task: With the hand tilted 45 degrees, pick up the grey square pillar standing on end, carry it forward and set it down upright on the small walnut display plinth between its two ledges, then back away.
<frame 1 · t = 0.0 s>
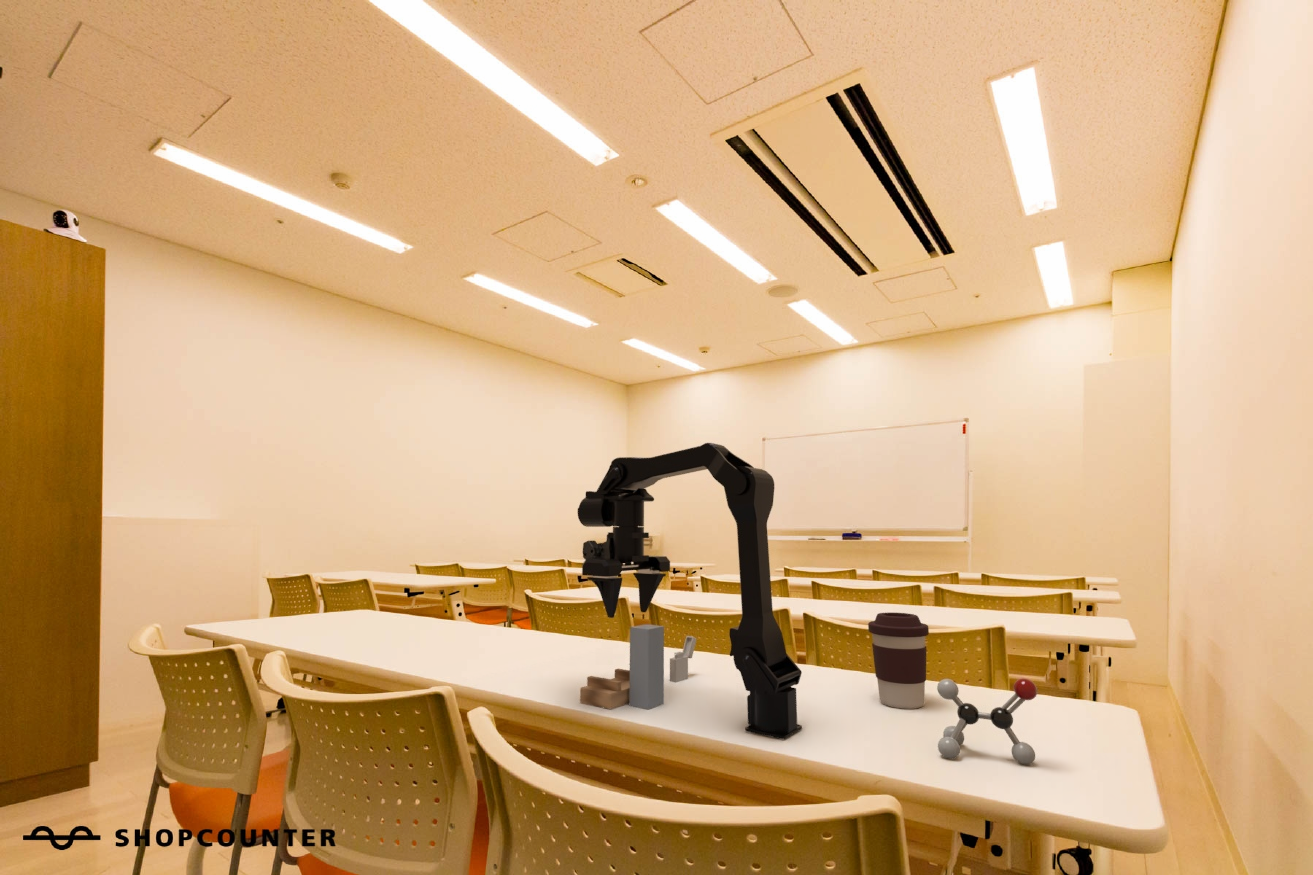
hand: (627, 614, 114), 15 cm above the table, tool pointing down, fingers open, 9 cm apart
grey square pillar: (646, 704, 109), on the table
coffee cup: (902, 704, 110), on the table
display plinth: (617, 698, 113), on the table
molecular model: (990, 759, 84), on the table
lighter: (683, 679, 128), on the table
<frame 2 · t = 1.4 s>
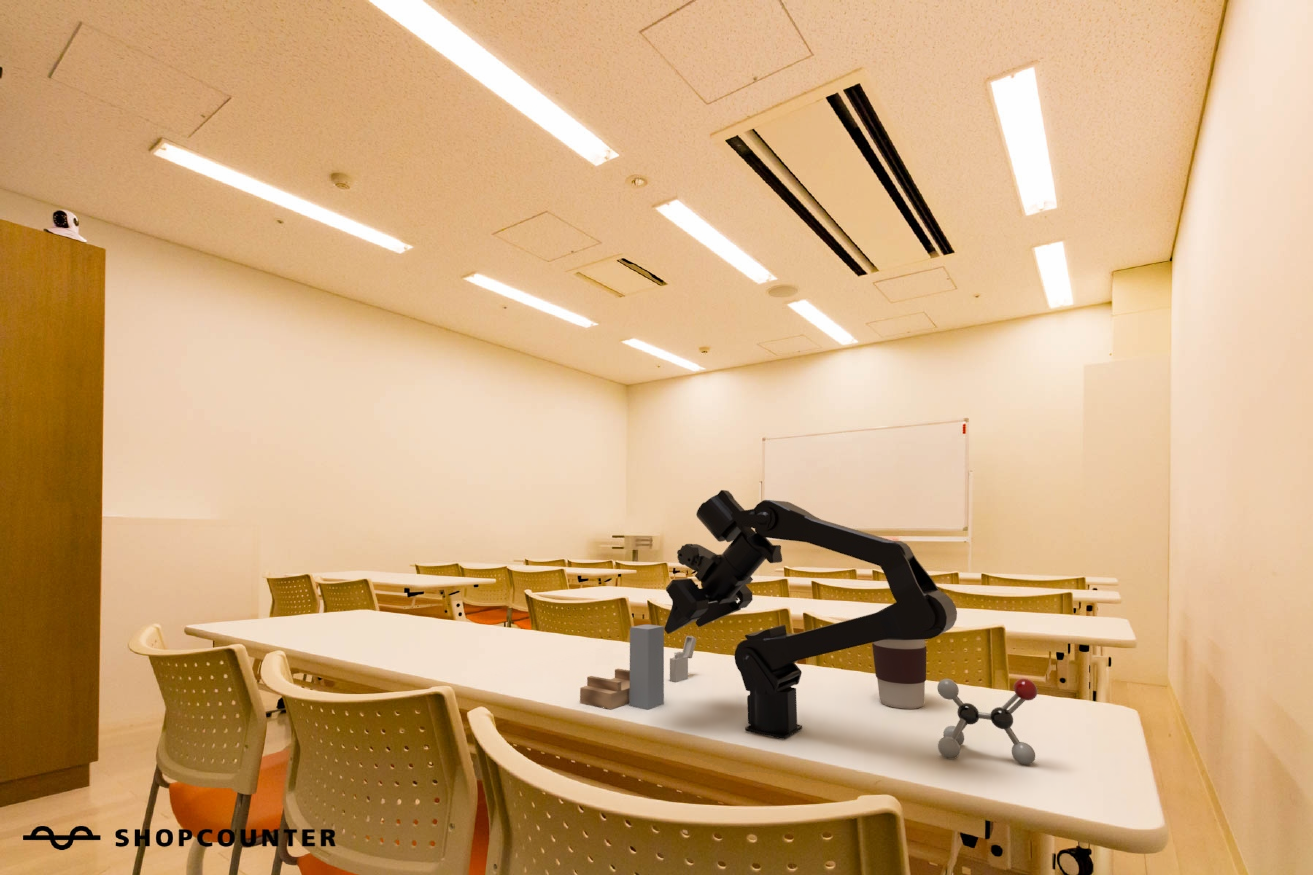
hand: (682, 628, 106), 13 cm above the table, tool tilted 45°, fingers open, 9 cm apart
nothing on the table moved.
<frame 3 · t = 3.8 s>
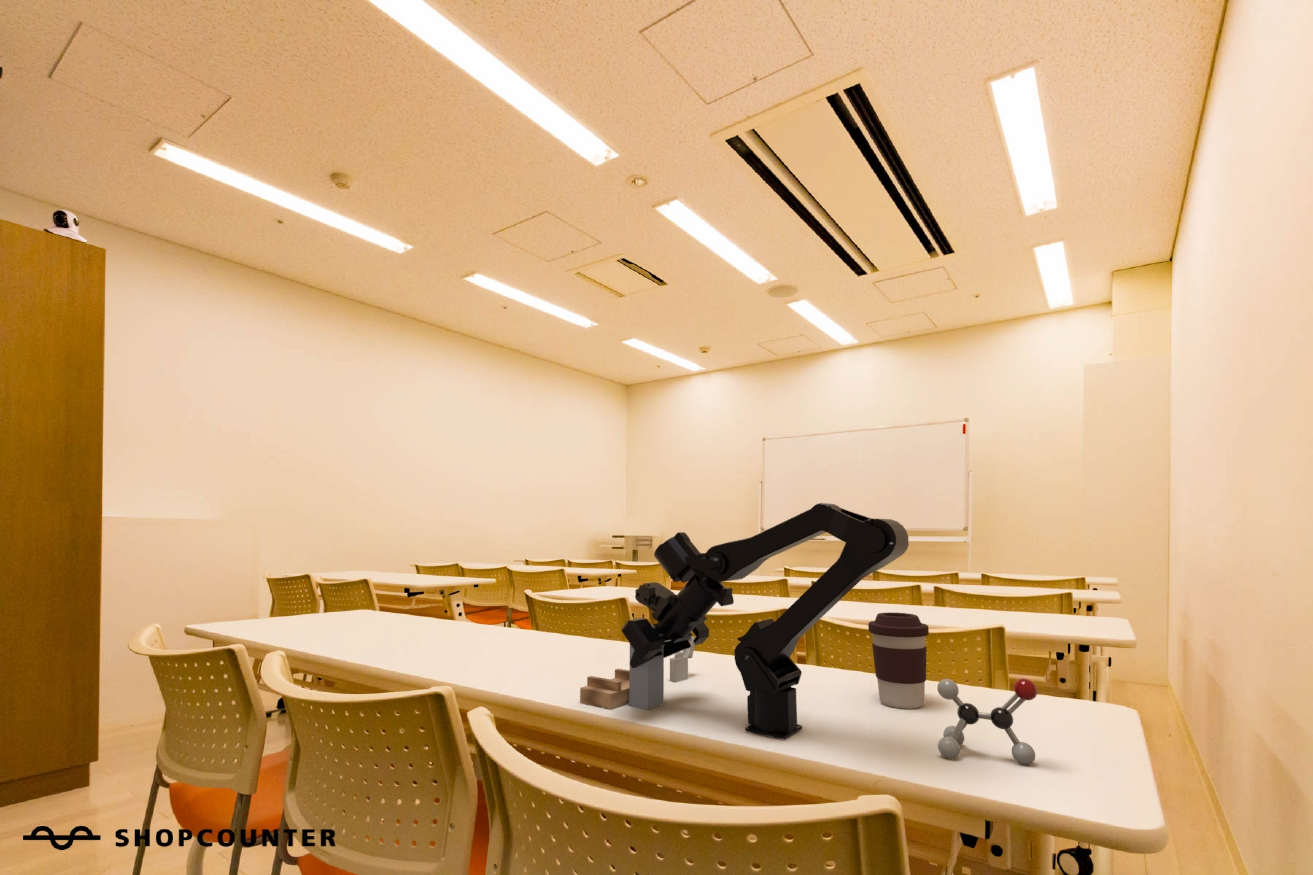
hand: (640, 663, 111), 7 cm above the table, tool tilted 45°, fingers closed on grey square pillar, 4 cm apart
grey square pillar: (646, 704, 109), on the table, touching gripper
everything else where it was.
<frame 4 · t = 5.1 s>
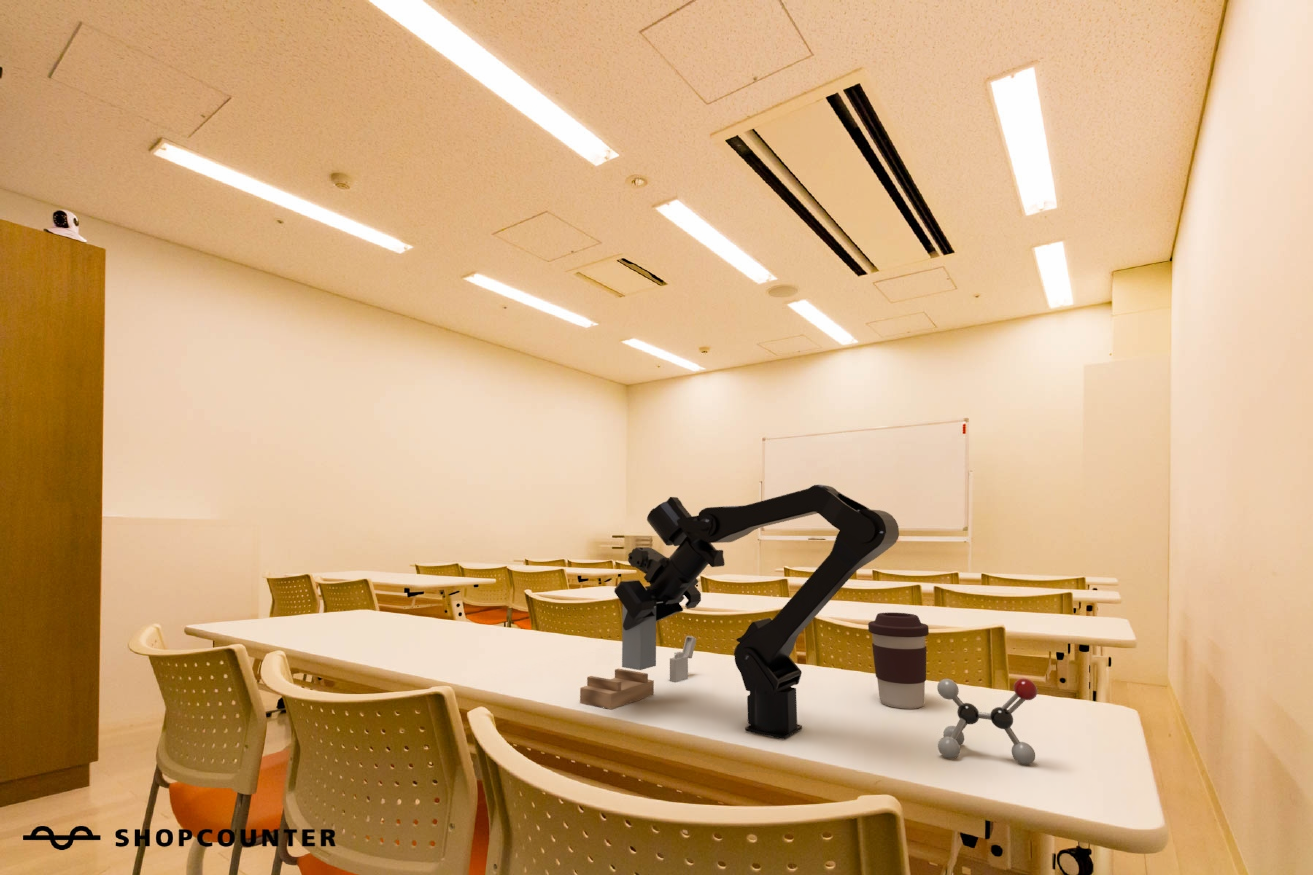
hand: (633, 626, 113), 13 cm above the table, tool tilted 45°, fingers closed on grey square pillar, 4 cm apart
grey square pillar: (639, 666, 111), point 6 cm above the table, touching gripper
everything else where it was.
when the fingers open (10 cm above the table, at t = 6.5 s): grey square pillar stays where it is, resting on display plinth.
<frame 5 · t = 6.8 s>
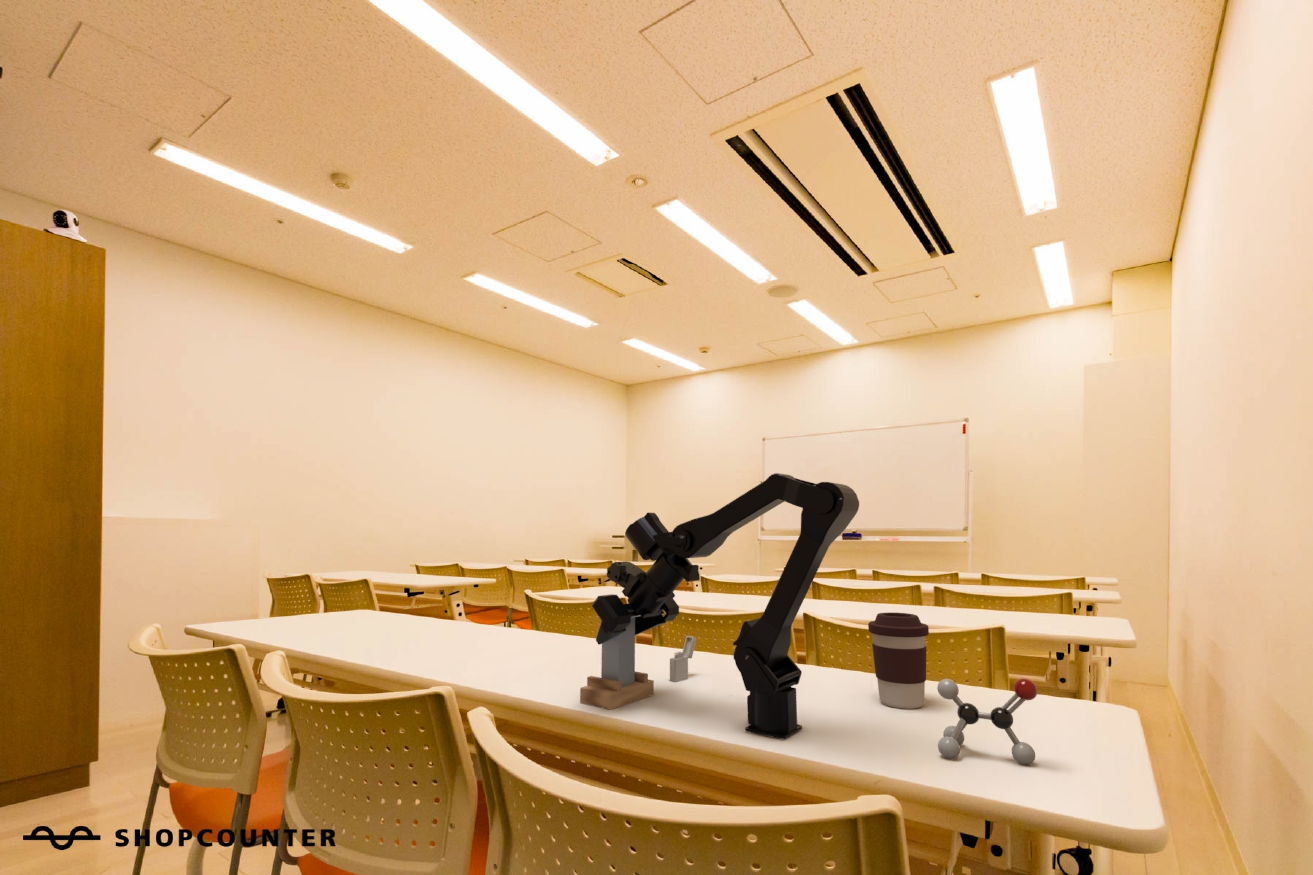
hand: (612, 639, 115), 10 cm above the table, tool tilted 45°, fingers open, 8 cm apart
grey square pillar: (618, 683, 113), point 2 cm above the table, touching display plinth
everything else where it was.
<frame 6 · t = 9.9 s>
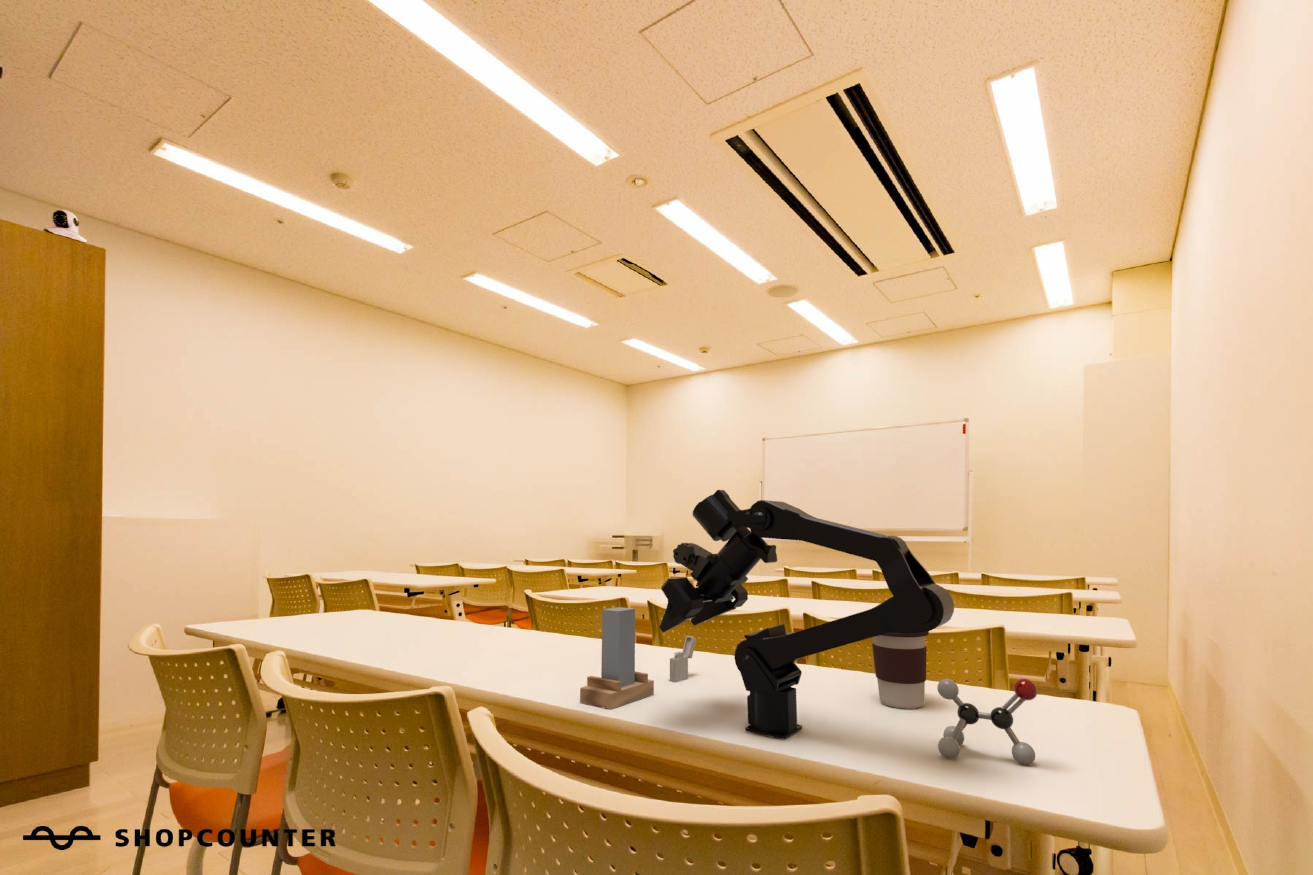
hand: (677, 626, 107), 14 cm above the table, tool tilted 45°, fingers open, 9 cm apart
nothing on the table moved.
at the end: grey square pillar 0.0 cm off-centre on the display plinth, point 2.5 cm above the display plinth's base; grey square pillar tilted 0°; the gripper is holding nothing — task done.
